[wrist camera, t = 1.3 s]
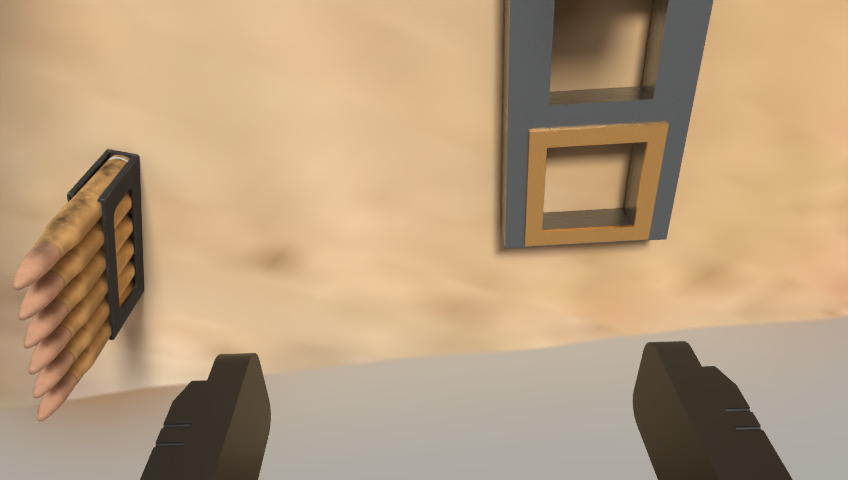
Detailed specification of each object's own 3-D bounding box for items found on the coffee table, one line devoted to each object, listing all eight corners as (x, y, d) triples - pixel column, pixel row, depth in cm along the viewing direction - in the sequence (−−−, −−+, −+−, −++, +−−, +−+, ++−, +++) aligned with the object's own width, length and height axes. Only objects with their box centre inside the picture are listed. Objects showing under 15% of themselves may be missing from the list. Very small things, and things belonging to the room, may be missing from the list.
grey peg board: (508, -236, 26) (515, -241, 24) (741, -252, 26) (766, -259, 24) (501, 231, 39) (505, 250, 38) (655, 222, 39) (667, 240, 37)
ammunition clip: (144, 292, 42) (60, 434, 32) (116, 287, 42) (22, 430, 32) (139, 154, 36) (35, 275, 26) (106, 148, 36) (-12, 267, 26)
